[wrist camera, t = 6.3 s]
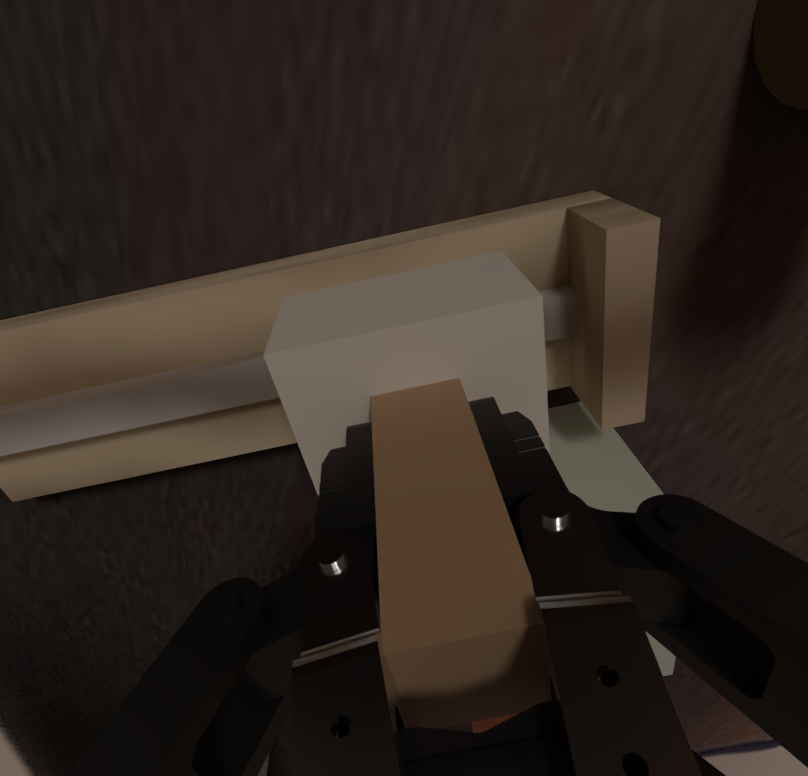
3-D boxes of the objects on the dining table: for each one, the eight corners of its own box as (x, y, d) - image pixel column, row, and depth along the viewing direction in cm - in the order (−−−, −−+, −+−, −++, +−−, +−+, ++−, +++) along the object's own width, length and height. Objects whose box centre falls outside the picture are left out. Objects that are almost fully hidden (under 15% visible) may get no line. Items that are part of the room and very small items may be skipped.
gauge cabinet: (330, 453, 22) (318, 623, 15) (591, 399, 22) (704, 547, 15) (370, 566, 27) (375, 741, 19) (590, 522, 26) (678, 684, 19)
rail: (-78, 337, 18) (-195, 403, 14) (593, 190, 17) (660, 218, 14) (32, 477, 22) (-37, 560, 18) (591, 361, 21) (644, 421, 17)
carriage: (284, 297, 16) (171, 610, 6) (501, 250, 15) (729, 499, 6) (334, 444, 19) (310, 799, 9) (515, 406, 18) (679, 732, 9)
